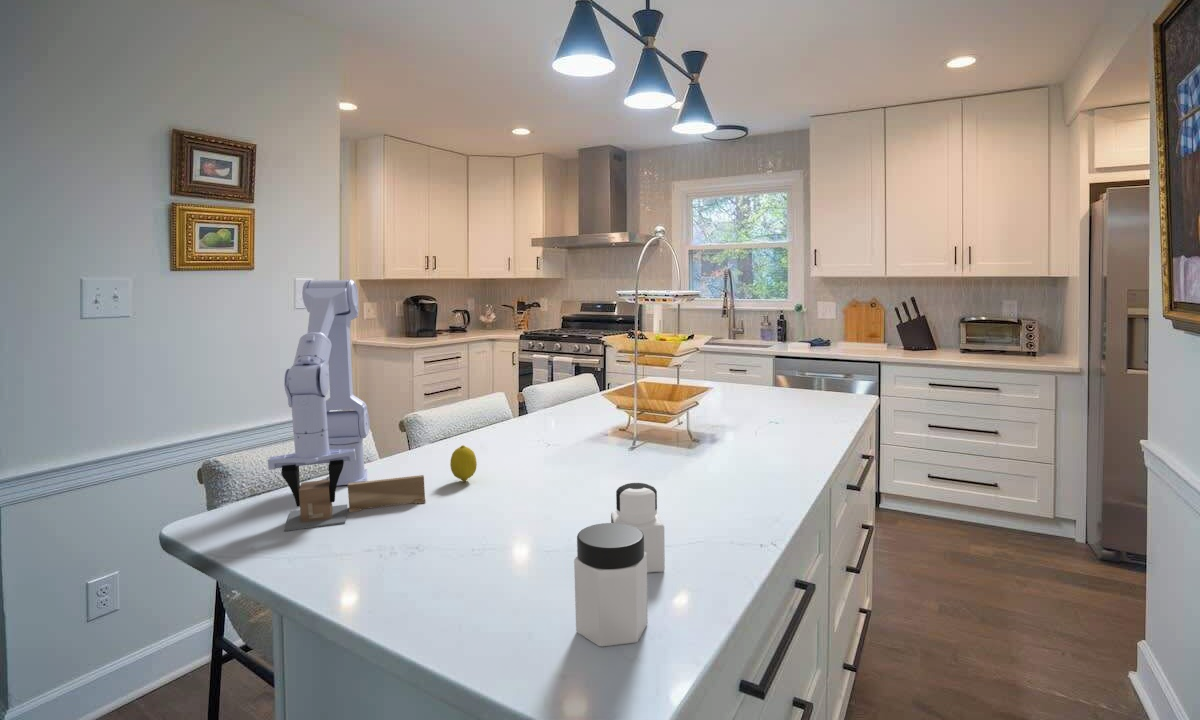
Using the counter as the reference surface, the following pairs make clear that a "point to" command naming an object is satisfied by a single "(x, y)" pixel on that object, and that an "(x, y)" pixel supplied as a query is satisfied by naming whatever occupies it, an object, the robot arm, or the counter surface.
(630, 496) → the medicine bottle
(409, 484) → the screen
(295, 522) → the mat
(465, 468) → the lemon
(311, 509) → the letter block
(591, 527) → the jar
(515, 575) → the counter surface
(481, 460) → the counter surface
